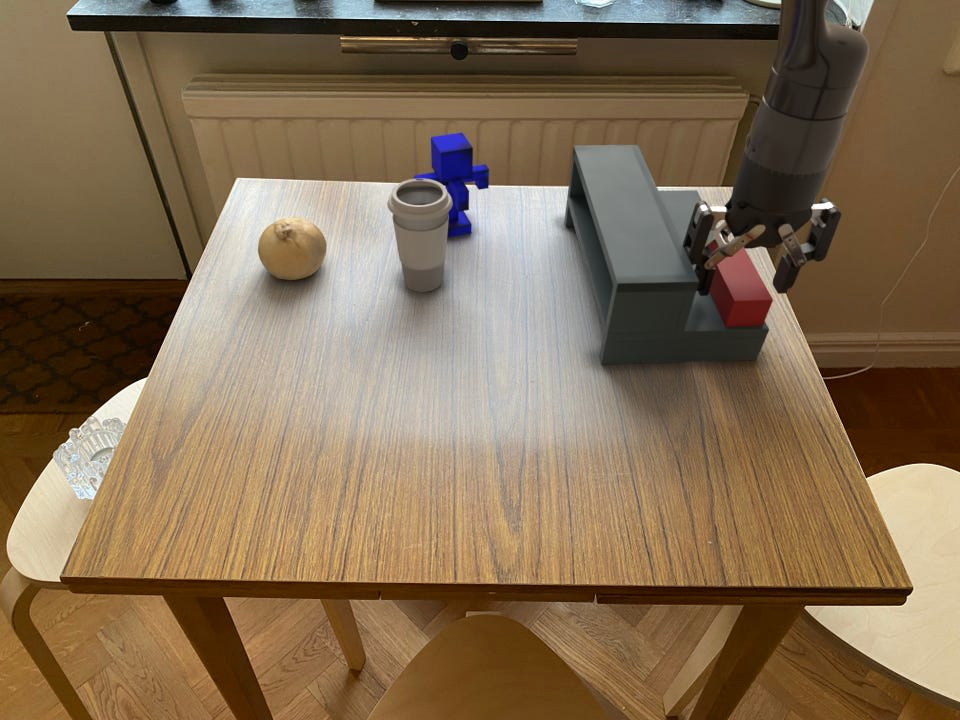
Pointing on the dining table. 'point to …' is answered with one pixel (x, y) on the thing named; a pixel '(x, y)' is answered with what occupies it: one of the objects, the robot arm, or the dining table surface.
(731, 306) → the red rectangular block
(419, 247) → the cup
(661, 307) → the shelf
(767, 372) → the dining table surface
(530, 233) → the dining table surface
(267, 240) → the onion
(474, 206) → the dining table surface
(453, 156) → the figurine
